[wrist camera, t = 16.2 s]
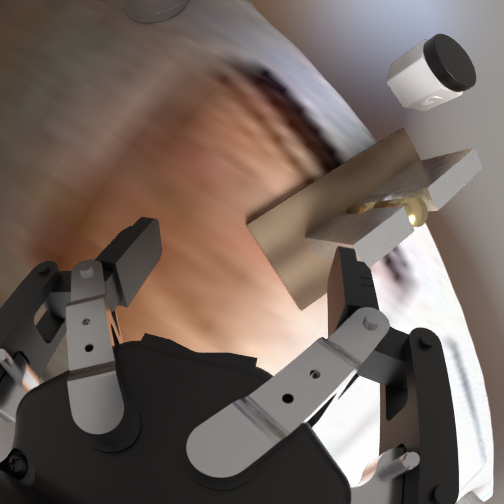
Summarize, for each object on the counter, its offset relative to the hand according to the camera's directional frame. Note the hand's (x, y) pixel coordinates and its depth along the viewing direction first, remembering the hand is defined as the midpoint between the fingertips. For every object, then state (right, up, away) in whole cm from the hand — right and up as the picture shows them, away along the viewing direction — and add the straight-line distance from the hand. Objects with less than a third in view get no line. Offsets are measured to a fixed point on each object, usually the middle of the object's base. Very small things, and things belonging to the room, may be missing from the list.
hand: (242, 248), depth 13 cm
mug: (+81, -95, +42) cm, 132 cm away
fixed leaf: (+18, +8, +22) cm, 29 cm away
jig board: (+14, +5, +23) cm, 27 cm away
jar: (+24, +25, +23) cm, 42 cm away
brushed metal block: (+11, +3, +21) cm, 24 cm away
